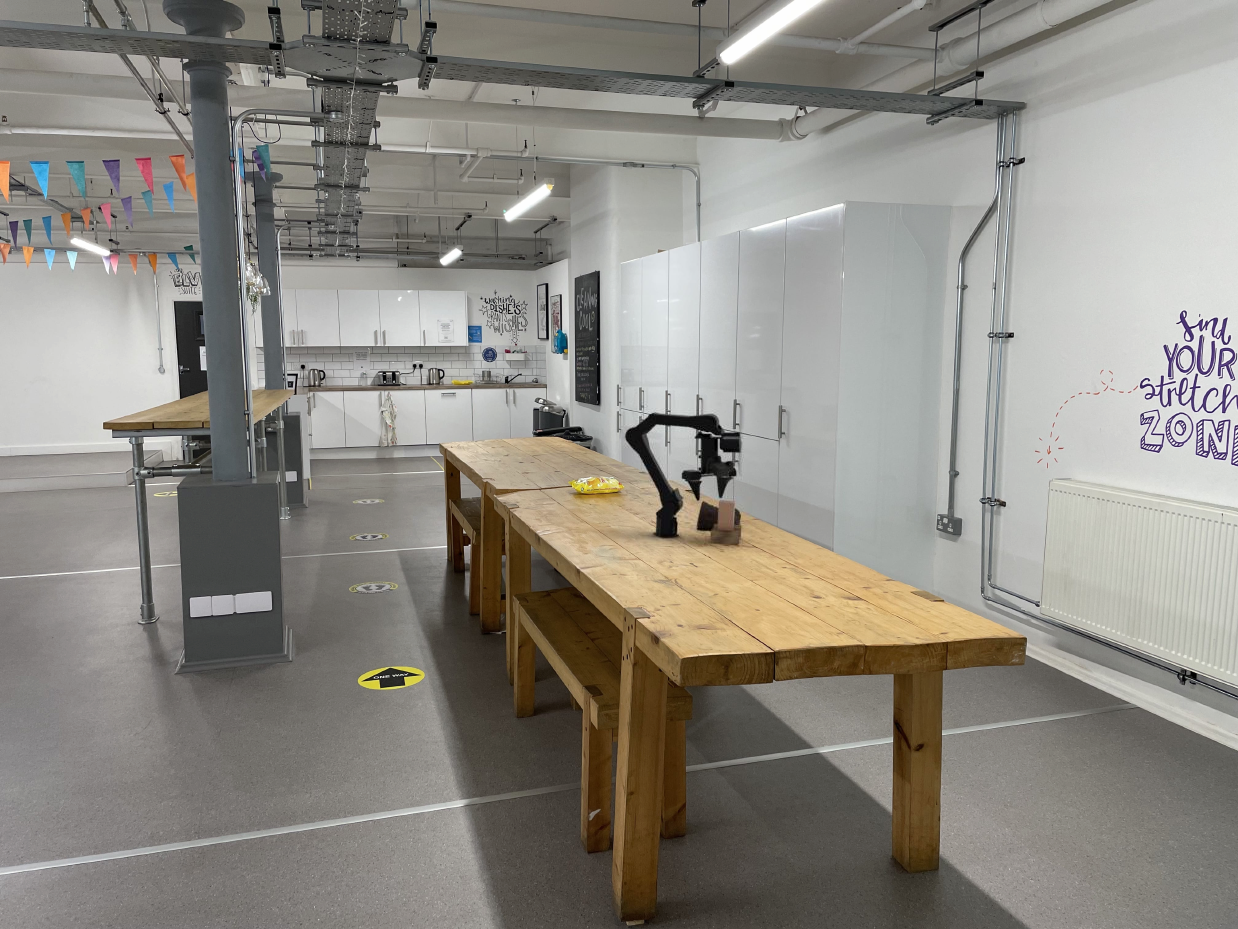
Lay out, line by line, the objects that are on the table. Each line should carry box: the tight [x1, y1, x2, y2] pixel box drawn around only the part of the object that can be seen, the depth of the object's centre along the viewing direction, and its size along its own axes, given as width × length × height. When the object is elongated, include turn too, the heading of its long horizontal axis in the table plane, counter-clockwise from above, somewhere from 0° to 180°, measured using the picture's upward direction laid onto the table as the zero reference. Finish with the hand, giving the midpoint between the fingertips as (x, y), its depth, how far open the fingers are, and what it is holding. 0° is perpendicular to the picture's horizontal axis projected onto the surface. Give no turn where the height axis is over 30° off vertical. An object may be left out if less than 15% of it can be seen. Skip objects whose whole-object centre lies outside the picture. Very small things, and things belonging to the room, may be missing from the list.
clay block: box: [718, 499, 736, 531], centre depth 285 cm, size 5×4×12 cm
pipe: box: [696, 500, 742, 530], centre depth 305 cm, size 10×15×15 cm
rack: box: [709, 524, 742, 546], centre depth 285 cm, size 9×13×4 cm
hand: (709, 499), depth 284 cm, fingers open, 9 cm apart
